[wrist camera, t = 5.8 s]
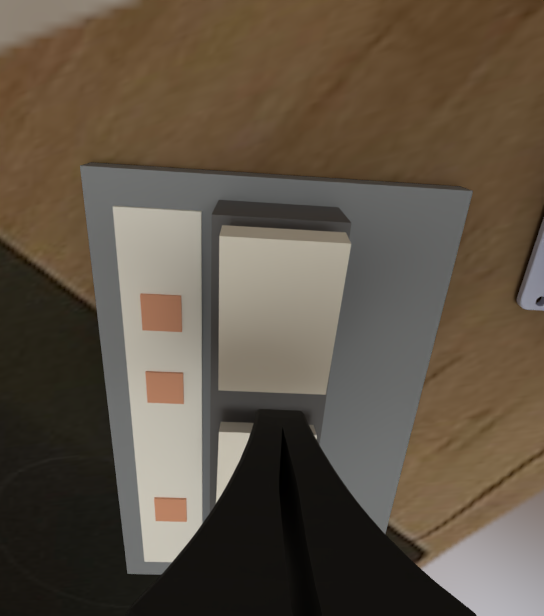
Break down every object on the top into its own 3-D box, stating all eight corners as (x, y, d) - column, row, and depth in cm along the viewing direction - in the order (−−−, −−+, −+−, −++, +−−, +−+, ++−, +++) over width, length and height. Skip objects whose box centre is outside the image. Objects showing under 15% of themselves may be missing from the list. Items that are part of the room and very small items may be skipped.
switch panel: (460, 186, 19) (508, 204, 15) (369, 561, 29) (385, 624, 26) (90, 162, 18) (48, 175, 14) (132, 555, 28) (113, 621, 25)
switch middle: (310, 415, 19) (316, 435, 17) (301, 535, 20) (306, 566, 18) (222, 412, 19) (218, 431, 17) (217, 532, 20) (213, 564, 18)
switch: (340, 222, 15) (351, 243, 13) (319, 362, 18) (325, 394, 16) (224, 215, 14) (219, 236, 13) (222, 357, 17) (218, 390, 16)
